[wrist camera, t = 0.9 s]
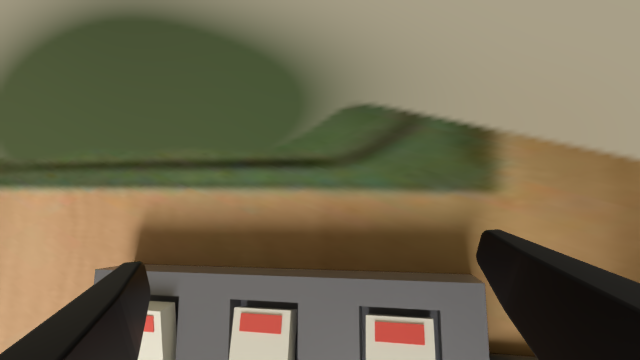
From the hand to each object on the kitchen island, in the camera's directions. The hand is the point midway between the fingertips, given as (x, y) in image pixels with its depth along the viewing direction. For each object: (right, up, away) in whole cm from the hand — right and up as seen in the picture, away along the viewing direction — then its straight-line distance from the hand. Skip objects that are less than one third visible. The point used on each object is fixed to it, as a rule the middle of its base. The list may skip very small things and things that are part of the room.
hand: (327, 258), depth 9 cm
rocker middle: (-4, -9, +11) cm, 15 cm away
